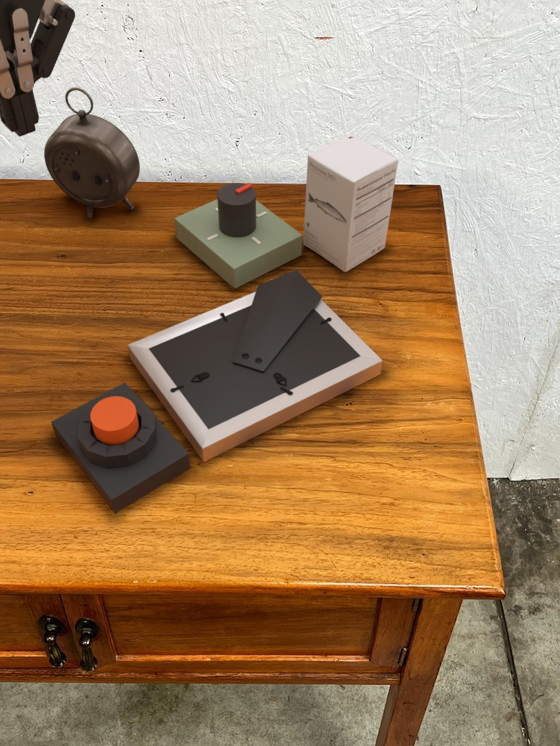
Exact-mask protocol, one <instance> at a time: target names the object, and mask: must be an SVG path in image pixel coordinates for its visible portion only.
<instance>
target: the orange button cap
mask: <svg viewBox="0 0 560 746" xmlns="http://www.w3.org/2000/svg"><path fill="white" fill-rule="evenodd" d="M90 418H91V422H92V426H93V430H94V433H95V436H96V437H97V439H98V440H99V441H101V442H103V443H105V444H108V445H119V444H123V443H125V442H127V441H129V440H131V439H132V438H133V437H134V436H135V435H136V433H137V431H138V428H139V422H138V417H137V412H136V408H135V405H134V404H133V403H132V402H131V401H130V400H129V399H127V398H124V397H119V396H113V397H108V398H105V399H103V400H101V401H99V402H98V403H97V404H96V405H95V406H94V407H93V409H92V411H91V414H90Z"/></svg>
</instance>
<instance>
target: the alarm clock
mask: <svg viewBox="0 0 560 746" xmlns="http://www.w3.org/2000/svg"><path fill="white" fill-rule="evenodd" d="M74 91H76V92H77V91H78V92H81V93H82V94H84V95H85V96H86V97H87V99H88V100H89V103H90V109H89V110H88V111H87V112H86V110H84V109H79V110H78V111H77V110H76V109H74V108H73V107H72V105H71V104H70V102H69V95H70V93H71V92H74ZM64 99H65V103H66V105H67V107H68V108H69V109H70V110H71V112H73V113H74V114H71V115H69V116H67V117H66V118H65V119H63V120H62V122H61V123H60V124H59V125H58V126H57V128H56V129H55V130H54V131H53V132H52V133H51V135H50V136H49V137H48V138H47V141H46V142H45V146H44V149H43V159H44V162H45V167H46V169H47V172H48V174H49V176H50V177H51V179H52V180H53V182H54V183H55V184H56V186H57V187H58V188H59V189H61V191H62V192H63V193H65V194H66V195H67V196H68V197H69V198H71V199H73V200H75V201H76V202H78V203H80V204H82V205H85V206H86V207H87V209H86V210H87V217H88V218H90V219H91V218H93V215H94V214H93V212H94V208H97V209H98V208H99V209H101V208H102V209H105V208H111V207H114V206H117V205H118V204H119V203H121V202H122V203H124V205H125V206H127V207H128V208H129V211H131V212H133V211H134V210H135V206H134V205H133V204H132V202H131V200H130V199H129V198H128V197H127V195H128V193H130V191H131V189H132V188H133V187H134V185H135V184H136V183H137V182H138V179H139V177H140V173H141V166H140V165H141V164H140V157H139V154H138V152H137V149H136V148H135V146H134V144H133V143H132V141H131V139H129V137H128V136H127V135H126V134H125V133H124V131H122V130H121V129H120V128H119V127H117V125H115V124H113V123H112V122H110V121H109V120H107V119H106V118H103V117H100V116H98V115H95V114H92V111H93V109H94V100H93V98H92V96H91V95H90V94H89V93H88V91H86V90H84V89H83V88H81V87H78V86H77V87H76V86H75V87H74V86H73V87H70V88H69V89H68V90H66V92H65V94H64Z"/></svg>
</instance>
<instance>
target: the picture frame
mask: <svg viewBox="0 0 560 746" xmlns="http://www.w3.org/2000/svg"><path fill="white" fill-rule="evenodd" d="M322 298H323V295H321V294H320V292H319V291H318V290H317V289H316V288H315V287H314V286H313V285H312V284H311V283H310V282H309V281H308V280H307V279H306V278H305V277H304V275H302V273H301V272H299V271H298V270H297V269H294V270H291V271H289V272H286V273H285V274H282V275H280V276H277V277H274V278H273V279H271V280H268V281H266V282H263V283H260V284H259V285H257V287H256V290H255V291H254V292H252V293H249V294H247V295H244V296H242V297H239V298H237V299H235V300H232V301H230V302H227V303H225V304H223V305H220V306H218V307H215V308H213V309H211V310H208V311H206V312H204V313H203V312H202V313H201V314H198V315H196V316H194V317H191V318H189V319H187V320H184V321H182V322H179V323H176V324H174V325H172V326H170V327H168V328H165V329H163V330H160V331H157V332H156V333H155V332H154V333H153V334H150V335H148V336H146V337H145V336H144V337H143V338H140V339H138V340H136V341H134V342H131V343H128V344H127V349H128V355H129V360H131V362H132V363H133V365H134V366H135V368H136V369H137V370H138V372H139V373H140V375H141V376H142V377H143V379H144V380H145V382H146V383H147V385H148V386H149V387H150V389H151V390H152V391H153V394H155V396H156V398H158V400H159V401H160V403H161V404H162V405H163V407H164V408H165V410H166V412H167V413H168V414H169V416H170V417H171V418H172V420H173V421H174V423H175V424H176V425H177V427H178V428H179V430H180V431H181V432H182V434H183V435H184V437H185V438H186V439H187V441H188V442H189V444H190V445H191V446H192V448H193V450H194V451H195V452H196V453H197V455H198V456H199V458H200V459H201V461H202V462H203V463H205V462H207V461H210V460H211V459H213V458H215V457H218V456H220V455H221V454H223V453H226V452H228V451H229V450H231V449H234V448H236V447H237V446H239V445H241V444H244V443H246V442H248V441H249V440H252V439H253V438H256V437H258V436H259V435H260V436H261V434H263V433H266V432H267V431H269V430H271V429H274V428H276V427H278V426H281V425H282V424H284V423H286V422H287V421H290V420H292V419H294V418H296V417H298V416H300V415H301V414H304V413H306V412H307V411H310V410H312V409H314V408H315V407H318V406H320V405H322V404H323V403H326V402H328V401H330V400H332V399H334V398H336V397H338V396H340V395H342V394H344V393H346V392H348V391H350V390H353V389H354V388H356V387H358V386H360V385H362V384H364V383H366V382H368V381H371V380H372V379H374V378H376V377H379V376H380V375H381V374H382V368H383V361H384V360H383V359H382V358H381V357H380V356H379V355H378V354H377V353H376V352H375V351H374V350H373V349H372V348H371V347H370V346H369V345H368V344H367V343H366V342H365V341H364V340H363V339H362V338H361V337H360V336H359V335H358V334H357V333H355V331H353V329H352V328H350V327H349V326H348V324H347V323H345V321H344V320H343V319H342V318H341V317H339V315H337V313H335V312H334V311H333V309H331V308H330V307H329V306H328V304H326V303H325V301H323V300H322Z"/></svg>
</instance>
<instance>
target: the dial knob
mask: <svg viewBox="0 0 560 746" xmlns="http://www.w3.org/2000/svg"><path fill="white" fill-rule="evenodd" d="M216 196H217V197H216V200H217V201H218V219H219V229H220V230H221V232H222V233H224V234H225V235H228V236H231V237H243V236H247V235H249V234H251V233H252V232H253V231H254V230H255V228H256V200H257V193H256V190H255V189H254V187H253V184H251V183H243V182H231V183H227V184H225V185H223V186H221V187H220V188H219V189H218V191H217V193H216Z"/></svg>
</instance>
